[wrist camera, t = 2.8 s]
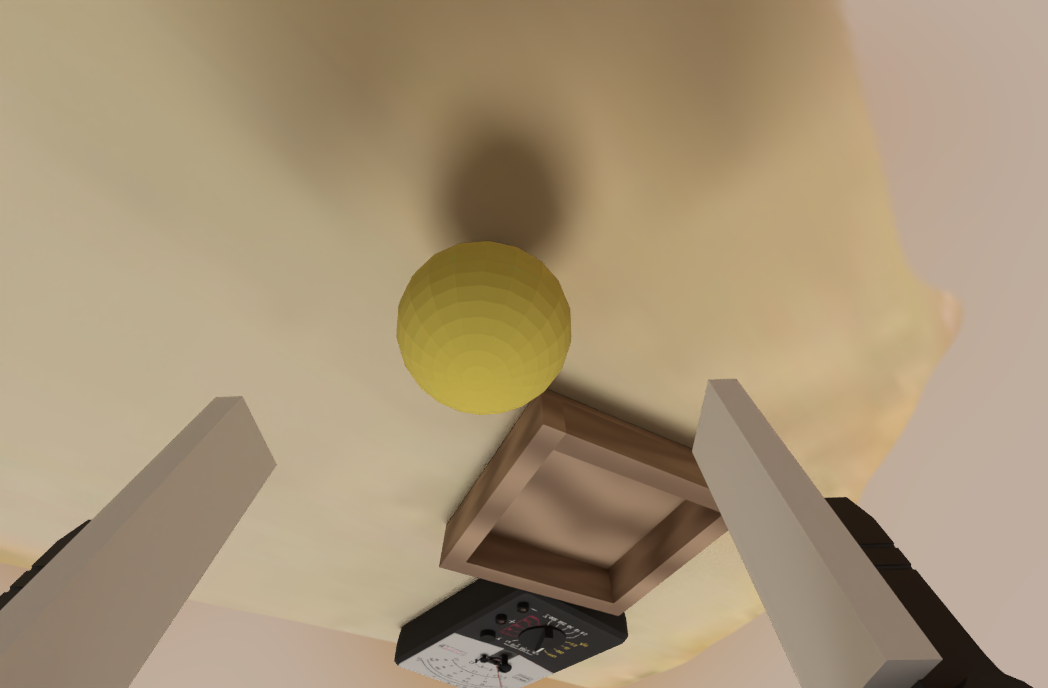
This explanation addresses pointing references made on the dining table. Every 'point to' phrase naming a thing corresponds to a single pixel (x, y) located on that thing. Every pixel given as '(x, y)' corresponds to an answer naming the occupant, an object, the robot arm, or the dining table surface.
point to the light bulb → (484, 327)
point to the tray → (582, 509)
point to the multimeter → (504, 637)
